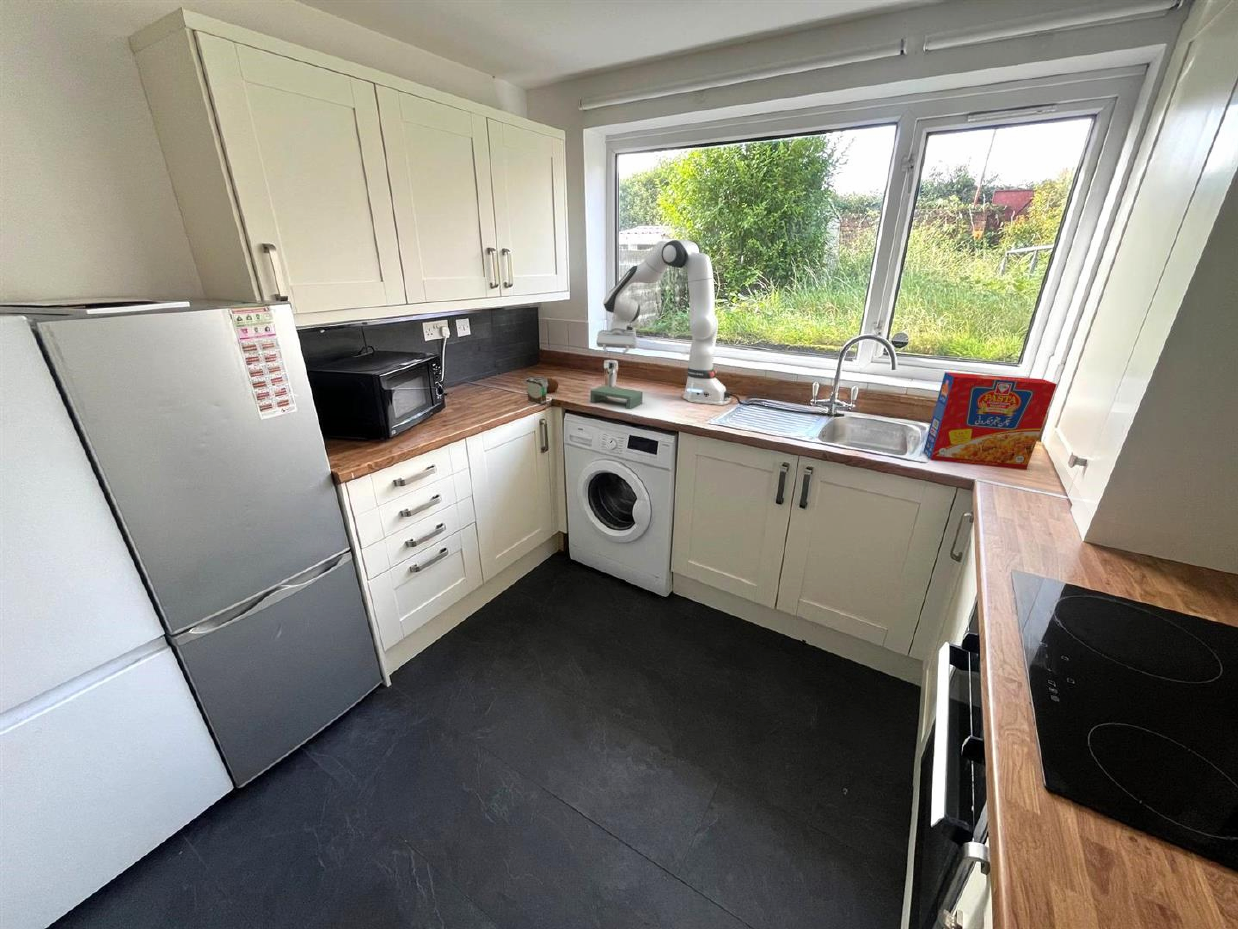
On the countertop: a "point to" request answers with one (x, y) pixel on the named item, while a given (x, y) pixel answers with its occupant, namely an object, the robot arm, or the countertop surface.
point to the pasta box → (988, 419)
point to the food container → (536, 390)
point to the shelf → (617, 395)
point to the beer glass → (610, 372)
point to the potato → (552, 385)
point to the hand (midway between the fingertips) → (614, 353)
